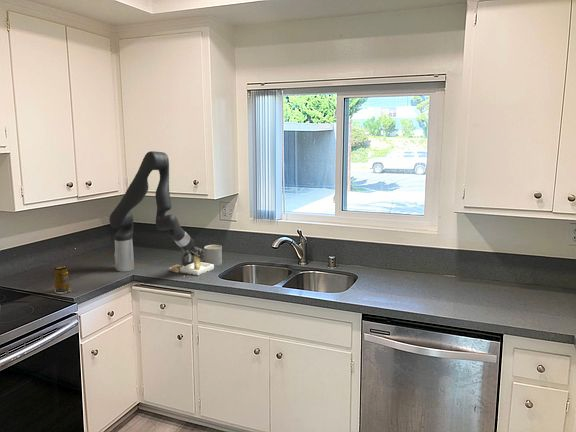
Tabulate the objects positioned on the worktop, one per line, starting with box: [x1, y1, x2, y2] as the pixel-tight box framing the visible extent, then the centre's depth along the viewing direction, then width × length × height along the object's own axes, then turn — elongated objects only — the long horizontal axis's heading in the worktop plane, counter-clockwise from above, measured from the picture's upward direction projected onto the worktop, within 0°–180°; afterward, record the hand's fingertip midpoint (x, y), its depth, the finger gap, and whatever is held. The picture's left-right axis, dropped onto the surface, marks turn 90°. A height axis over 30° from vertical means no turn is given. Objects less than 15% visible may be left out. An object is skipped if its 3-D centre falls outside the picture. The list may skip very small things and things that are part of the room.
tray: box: [179, 261, 215, 276], centre depth 254 cm, size 12×14×2 cm
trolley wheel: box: [181, 249, 194, 266], centre depth 261 cm, size 4×7×10 cm, turn 151°
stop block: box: [169, 264, 184, 273], centre depth 254 cm, size 6×6×2 cm
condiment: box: [53, 265, 70, 292], centre depth 221 cm, size 7×8×12 cm
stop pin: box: [193, 254, 201, 269], centre depth 253 cm, size 4×4×10 cm
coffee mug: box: [200, 244, 223, 267], centre depth 266 cm, size 13×10×10 cm
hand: (199, 256), depth 254 cm, fingers open, 4 cm apart
